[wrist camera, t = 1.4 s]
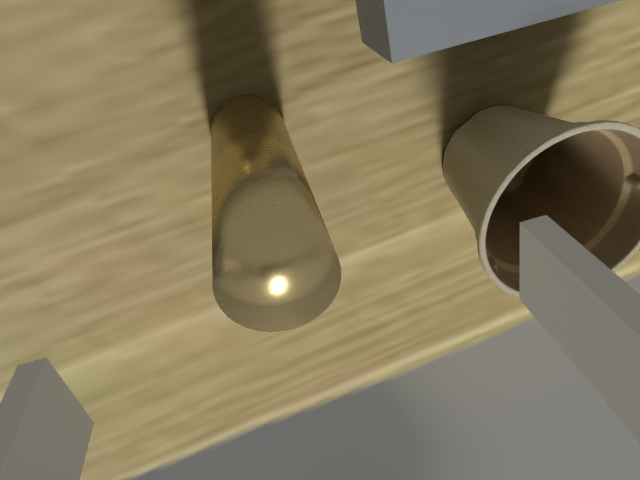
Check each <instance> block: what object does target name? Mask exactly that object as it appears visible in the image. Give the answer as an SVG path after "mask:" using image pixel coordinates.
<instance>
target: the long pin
mask: <svg viewBox="0 0 640 480" xmlns="http://www.w3.org/2000/svg"><path fill="white" fill-rule="evenodd" d="M211 183H212V270H213V292H214V296H215V299H216V301H217V303H218V305H219V307H220V308H221V310H222V311H223V312H224V313H225V314H226V315H227V316H228V317H229V318H230V319H232V320H233V321H234V322H236V323H238V324H240V325H242V326H244V327H247V328H250V329H253V330H258V331H266V332H277V331H285V330H289V329H294V328H297V327H299V326H302V325H304V324H306V323H308V322H310V321H312V320H313V319H315V318H316V317H318V316H319V315H320V314H321V313H323V312H324V311H325V310H326V309H327V308H328V306H329V305H330V304H331V303H332V301H333V300H334V298H335V296H336V294H337V292H338V289H339V286H340V281H341V267H340V262H339V259H338V257H337V254H336V252H335V249H334V247H333V244H332V242H331V239H330V237H329V234H328V232H327V229H326V226H325V224H324V221H323V219H322V216H321V214H320V211H319V209H318V206H317V204H316V201H315V199H314V196H313V194H312V191H311V189H310V186H309V184H308V181H307V179H306V176H305V174H304V171H303V169H302V166H301V164H300V161H299V159H298V156H297V154H296V151H295V149H294V146H293V144H292V141H291V139H290V136H289V134H288V131H287V129H286V126H285V124H284V121H283V119H282V116H281V114H280V113H279V111H278V110H277V109H276V108H275V107H274V106H273V105H272V104H271V103H270V102H268V101H266V100H264V99H262V98H259V97H256V96H240V97H236V98H233V99H231V100H229V101H227V102H226V103H224V104H223V105H222V106H221V107H220V108H219V109H218V111H217V112H216V114H215V116H214V118H213V121H212V124H211Z"/></svg>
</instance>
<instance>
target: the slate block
mask: <svg viewBox="0 0 640 480" xmlns="http://www.w3.org/2000/svg"><path fill="white" fill-rule="evenodd" d="M616 1H620V0H356V5H357V11H358V18H359V24H360V30H361V36H362V42H363V43H364V44H365V45H367V46H368V47H370V48H371V49H373V50H374V51H375V52H377V53H378V54H380V55H381V56H382V57H384V58H385V59H387V60H388V61H390V62H391V63H395V62H399V61H402V60H406V59H410V58H413V57H417V56H420V55H424V54H428V53H431V52H435V51H439V50H442V49H446V48H449V47H453V46H457V45H460V44H464V43H468V42H471V41H475V40H479V39H482V38H486V37H489V36H493V35H497V34H500V33H504V32H508V31H511V30H515V29H518V28H522V27H526V26H529V25H533V24H537V23H540V22H544V21H547V20H551V19H555V18H558V17H562V16H566V15H569V14H573V13H577V12H580V11H584V10H587V9H591V8H595V7H598V6H602V5H606V4H609V3H613V2H616Z"/></svg>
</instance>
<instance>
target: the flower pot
mask: <svg viewBox="0 0 640 480" xmlns="http://www.w3.org/2000/svg"><path fill="white" fill-rule="evenodd" d="M443 171H444V177H445V180H446V182H447V185H448V186H449V188H450V190H451V192H452V193H453V194H454V196H455V197H456V199H457V200H458V202H459V204H460V206H461V207H462V209H463V211H464V212H465V214H466V216H467V218H468V219H469V221H470V223H471V225H472V227H473V228H474V230H475V235H476V239H477V247H478V254H479V259H480V262H481V264H482V267H483V269H484V271H485V272H486V274H487V275H488V277H489V278H490V279H491V281H492V282H493V283H494V284H495V285H496V286H497V287H499V288H500V289H501V290H503V291H504V292H506V293H508V294H510V295H512V296H515V297H518V298H519V287H520V222H523V221H527V220H530V219H534V218H537V217H541V216H544V215H547V216H548V217H549V218H551V219H552V220H553V221H554V222H555V223H556V224H558V225H559V226H560V227H561V228H562V229H564V230H565V231H566V232H567V233H568V234H569V235H571V236H572V237H573V238H574V239H575V240H576V241H578V242H579V243H580V244H581V245H582V246H583V247H585V248H586V249H587V250H588V251H589V252H591V253H592V254H593V255H594V256H595V257H596V258H598V259H599V260H600V261H601V262H602V263H603V264H605V265H606V266H607V267H608V268H609V269H610V270H612V271H613V272H615V271H617V270H618V269H619V268H621V267H622V266H623V265H624V264H625V263H626V262H627V261H628V260H629V259H630V258H631V257H633V256H634V254H635V253H636V252H637V251H638V250H639V249H640V128H638V127H635V126H633V125H630V124H627V123H622V122H618V121H606V120H604V121H593V122H576V123H572V122H568V121H564V120H560V119H556V118H552V117H549V116H545V115H541V114H538V113H534V112H530V111H527V110H523V109H520V108H517V107H513V106H494V107H490V108H487V109H484V110H481V111H479V112H477V113H476V114H475V115H474V116H473V117H472V118H471V119H469V120H468V121H467V122H466V123H465V124H464V125H462V126H461V127H460V128H459V129H457V130H456V131H455V132H454V134H453V136H452V137H451V139H450V141H449V143H448V145H447V148H446V151H445V154H444V160H443Z"/></svg>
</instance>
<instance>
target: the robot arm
mask: <svg viewBox="0 0 640 480" xmlns="http://www.w3.org/2000/svg"><path fill="white" fill-rule="evenodd" d="M519 299H520V300H521V301H522V302H523V304H524V305H525V306H526V307H527V308H528V310H529V311H530V312H531V313H532V315H533V316H534V317H535V318H536V319H537V320H538V322H539V323H540V324H541V325H542V327H543V328H544V329H545V330H546V331H547V333H548V334H549V335H550V336H551V337H552V339H553V340H554V341H555V342H556V343H557V344H558V346H559V347H560V348H561V349H562V351H563V352H564V353H565V354H566V355H567V357H568V358H569V359H570V360H571V361H572V363H573V364H574V365H575V366H576V367H577V369H578V370H579V371H580V372H581V374H582V375H583V376H584V377H585V378H586V380H587V381H588V382H589V383H590V384H591V386H592V387H593V388H594V389H595V390H596V392H597V393H598V394H599V395H600V396H601V397H602V399H603V400H604V401H605V402H606V404H607V405H608V406H609V407H610V408H611V409H612V411H613V412H614V413H615V414H616V416H617V417H618V418H619V419H620V420H621V422H622V423H623V424H624V425H625V426H626V428H627V429H628V430H629V431H630V432H631V434H632V435H633V436H634V437H635V439H636V440H637V441H638V442H639V443H640V294H639V293H638V292H636V291H635V290H634V289H633V288H632V287H630V286H629V285H628V284H627V283H626V282H625V281H623V280H622V279H621V278H620V277H619V276H618V275H616V274H615V273H614V272H613V271H612V270H610V269H609V268H608V267H607V266H606V265H605V264H603V263H602V262H601V261H600V260H599V259H598V258H596V257H595V256H594V255H593V254H592V253H591V252H589V251H588V250H587V249H586V248H585V247H583V246H582V245H581V244H580V243H579V242H578V241H576V240H575V239H574V238H573V237H572V236H571V235H569V234H568V233H567V232H566V231H565V230H564V229H562V228H561V227H560V226H559V225H558V224H556V223H555V222H554V221H553V220H552V219H551V218H549V217H548V216H547V215H544V216H541V217H537V218H534V219H530V220H527V221H523V222H520V287H519ZM93 424H94V422H93V421H92V419H91V418H90V417H89V415H88V414H87V412H86V411H85V410H84V408H83V407H82V406H81V404H80V403H79V401H78V400H77V399H76V397H75V396H74V395H73V393H72V392H71V391H70V389H69V388H68V386H67V385H66V384H65V382H64V381H63V380H62V378H61V377H60V375H59V374H58V373H57V371H56V370H55V369H54V367H53V366H52V365H51V363H50V362H49V360H48V359H47V358H42V359H39V360H35V361H32V362H28V363H25V364H21V365H18V366H17V368H16V370H15V373H14V375H13V377H12V379H11V381H10V383H9V386H8V388H7V390H6V392H5V394H4V396H3V399H2V401H1V403H0V480H79V479H80V476H81V472H82V468H83V464H84V460H85V456H86V452H87V448H88V444H89V440H90V436H91V432H92V428H93Z"/></svg>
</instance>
